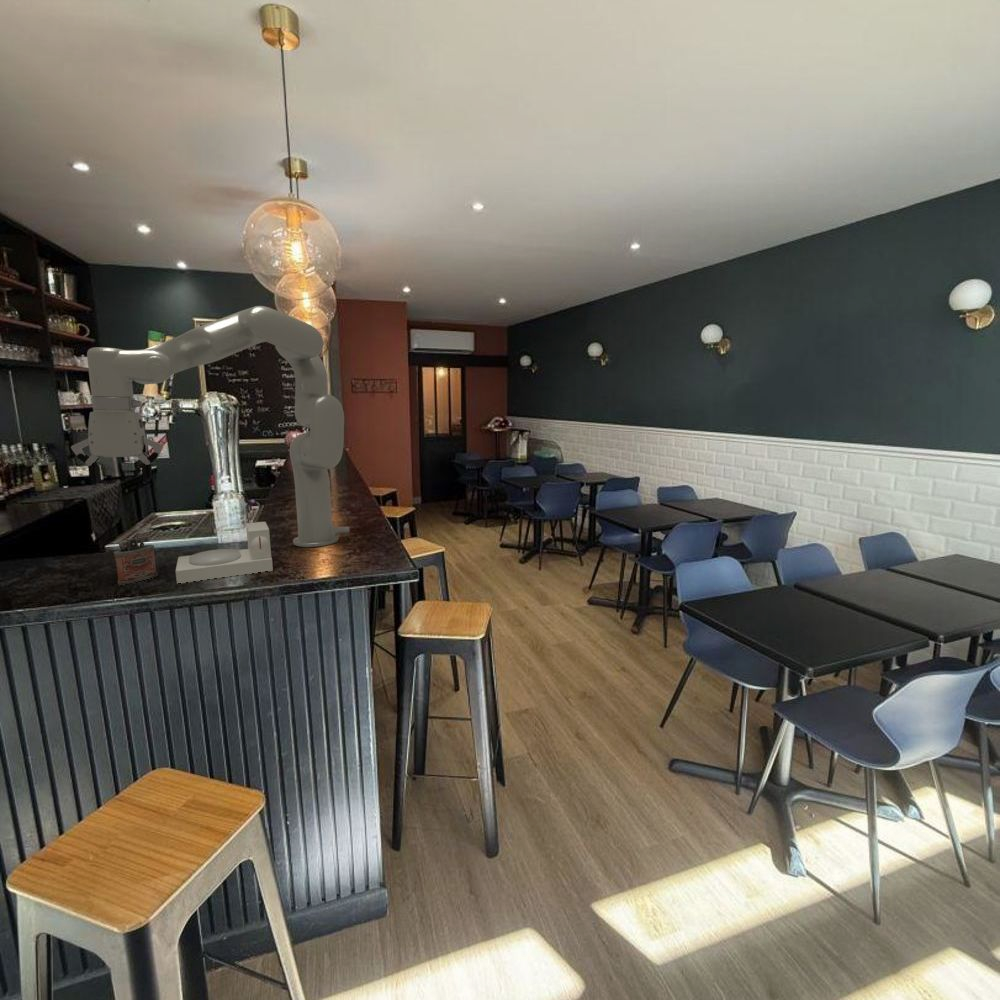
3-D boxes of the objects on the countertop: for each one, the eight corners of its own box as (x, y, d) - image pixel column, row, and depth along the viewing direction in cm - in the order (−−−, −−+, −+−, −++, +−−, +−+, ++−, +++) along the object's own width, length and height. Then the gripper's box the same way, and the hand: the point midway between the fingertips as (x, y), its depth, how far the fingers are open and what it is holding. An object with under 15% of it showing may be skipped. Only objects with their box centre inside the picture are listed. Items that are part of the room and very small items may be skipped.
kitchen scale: (267, 557, 141) (264, 520, 139) (272, 570, 129) (269, 530, 128) (179, 568, 131) (175, 529, 130) (177, 584, 120) (172, 540, 118)
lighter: (122, 586, 119) (116, 542, 117) (115, 583, 120) (109, 540, 119) (160, 576, 125) (155, 535, 124) (153, 574, 127) (148, 533, 125)
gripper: (163, 406, 124) (170, 479, 127) (74, 405, 119) (83, 481, 122) (154, 406, 117) (161, 483, 120) (59, 405, 112) (69, 486, 115)
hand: (122, 482), depth 121 cm, fingers open, 9 cm apart
